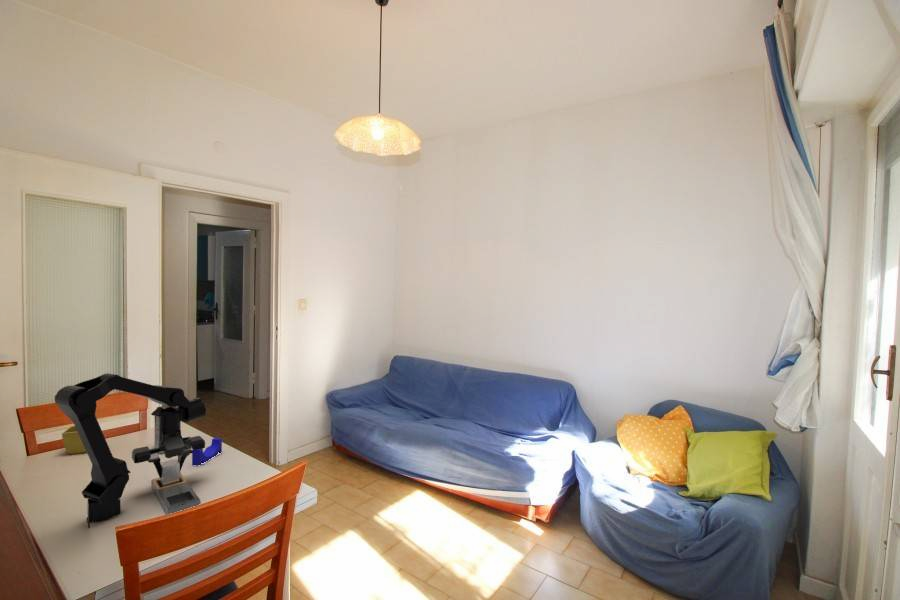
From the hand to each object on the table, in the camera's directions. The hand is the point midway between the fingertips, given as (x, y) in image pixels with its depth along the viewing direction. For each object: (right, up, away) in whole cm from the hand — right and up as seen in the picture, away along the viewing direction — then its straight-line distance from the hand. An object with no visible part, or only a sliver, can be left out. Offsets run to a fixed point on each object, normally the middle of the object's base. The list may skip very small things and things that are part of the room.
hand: (169, 475), depth 133 cm
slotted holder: (+5, -5, -5) cm, 9 cm away
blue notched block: (-3, -5, +24) cm, 25 cm away
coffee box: (-23, -3, +32) cm, 40 cm away
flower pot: (-53, -3, +28) cm, 60 cm away
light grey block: (0, -3, 0) cm, 3 cm away
